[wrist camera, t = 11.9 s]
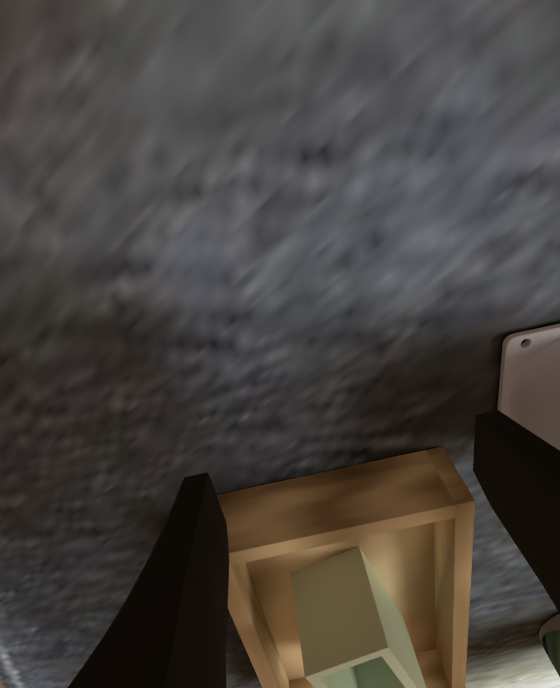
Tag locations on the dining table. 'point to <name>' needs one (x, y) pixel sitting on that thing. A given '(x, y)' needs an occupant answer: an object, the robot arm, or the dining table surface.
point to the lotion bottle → (552, 640)
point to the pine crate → (377, 545)
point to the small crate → (351, 627)
